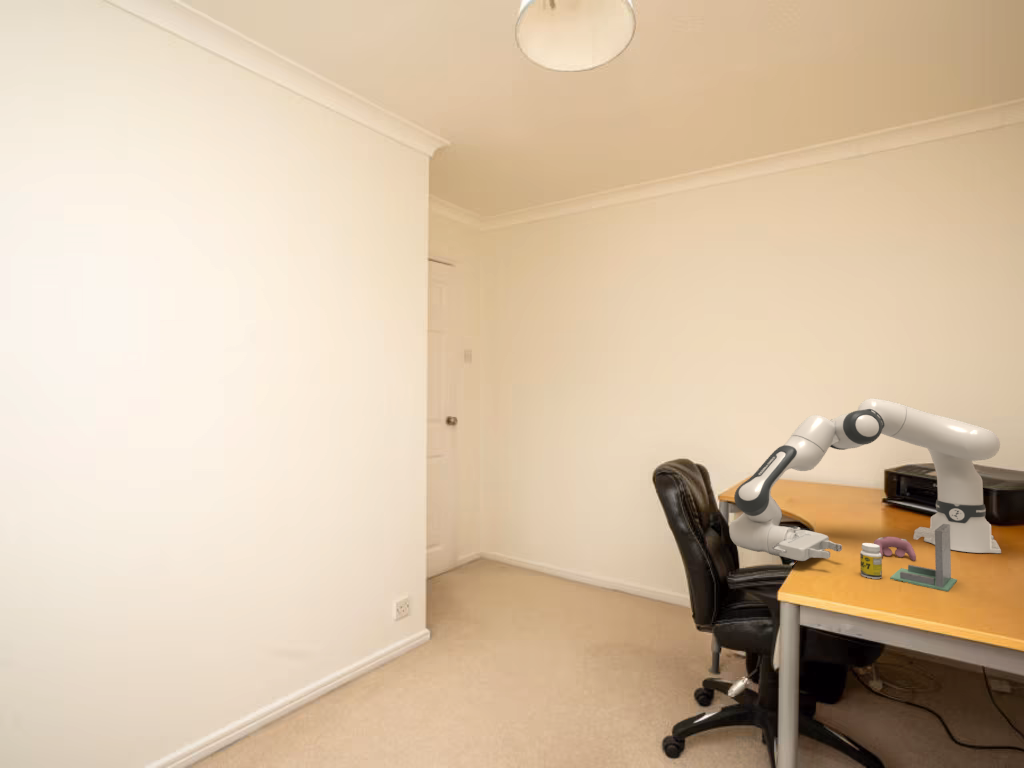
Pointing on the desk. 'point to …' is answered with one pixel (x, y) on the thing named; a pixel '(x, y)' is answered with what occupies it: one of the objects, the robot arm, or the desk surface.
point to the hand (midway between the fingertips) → (835, 551)
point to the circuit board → (945, 588)
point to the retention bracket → (941, 558)
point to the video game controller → (898, 543)
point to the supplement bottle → (871, 561)
